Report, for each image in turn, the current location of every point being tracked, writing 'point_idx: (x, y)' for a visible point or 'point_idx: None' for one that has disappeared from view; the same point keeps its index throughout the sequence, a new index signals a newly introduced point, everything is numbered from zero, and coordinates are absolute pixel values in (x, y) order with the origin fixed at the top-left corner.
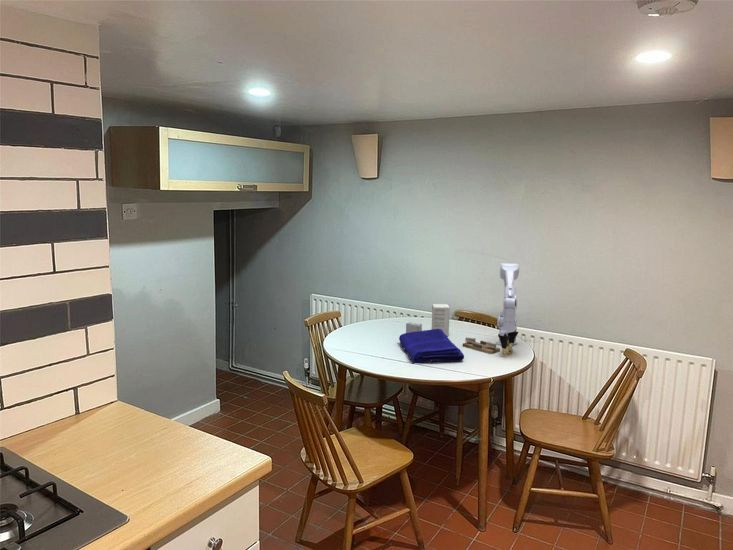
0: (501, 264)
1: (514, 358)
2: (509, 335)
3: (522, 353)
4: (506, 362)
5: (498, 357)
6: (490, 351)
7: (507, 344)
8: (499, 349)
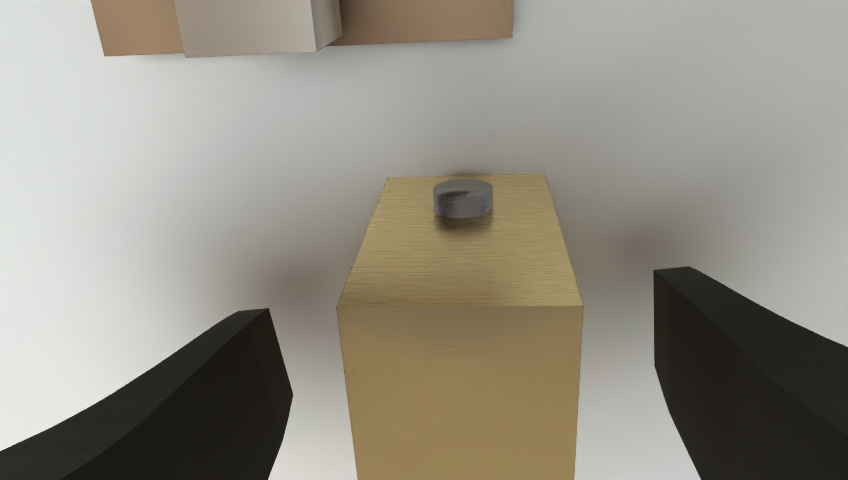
0: None
1: (348, 456)
2: (787, 472)
3: None
4: None
5: (140, 268)
6: (104, 37)
7: (357, 441)
8: (490, 34)
